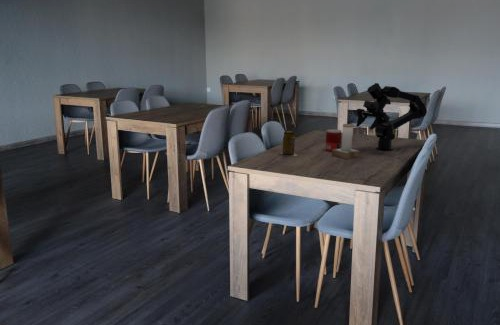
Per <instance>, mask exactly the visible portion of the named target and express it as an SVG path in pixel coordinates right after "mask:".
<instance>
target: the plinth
mask: <svg viewBox="0 0 500 325" xmlns="http://www.w3.org/2000/svg"><path fill="white" fill-rule="evenodd" d="M331 156H332V157H335V158H340V159H342V160H343V159H344V160H350V159H351V160H352V159H356V158H360V157H361V151H360V150H357V149H353V148H351V151H343V150H341V148H340V149H334V150H332V152H331Z"/></svg>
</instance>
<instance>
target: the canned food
mask: <svg viewBox="0 0 500 325" xmlns="http://www.w3.org/2000/svg"><path fill="white" fill-rule="evenodd" d="M325 136H326V137H325V151H327V152H331V153H332V150H334V149H341V146H342V130H340V129H332V128H331V129H326V131H325Z"/></svg>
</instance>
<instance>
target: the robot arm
mask: <svg viewBox="0 0 500 325" xmlns="http://www.w3.org/2000/svg"><path fill="white" fill-rule="evenodd" d="M366 91H367V92H368V94H369V96H370V97H371V98H372V99H373V101H371V100H364V103H363V108H366V110H365V109H363V108H357V109H356V111H355V113H356V115H357V121H356V128H358V127H360V126H361V125H362V124H363V123H364V122H365V121H366V119H367V118H368V117H370V118H374V120H373V122H372V124H371V126H370V127H369V129H370V130H373V129H375V130H374V131H375V134H376V138H378V142H377V147H376V149H377V150H380V151H393V150H394V149H393V148H392V140H395V137H396V134H394V132H395V130H396V129H398V128H401V127H402V126H403V125H405V124H408V122H409V123H410V122H412V121H413V120H416V119H417V120H418V119H421V118H425V117H426V115H427V113H428V111H427V107H426V104H425V102H423V101H422V100H421V98H420V96H419V95H417V94H412V93H409V92H405V91H402V90H400V89H399V88H398V87H396V86H392V85H391V86H389V85H385V86H383V87H381V85H380V84H379V83H378V82H375V83H374V84H371V85H370V86H368V87H367V90H366ZM390 98H391V99H393V98H395V99H401V100H404V101H408V102H409V105H408V106H409V109H408V111H407V112H405V113H404V114H402V115H401V116H399V117H397V118H395V119H393V120H392V121H390V118H389V116H388V114H387V112H385V111H384V108H385V107H386V106H387V105H391V104H392V103H391V99H390Z"/></svg>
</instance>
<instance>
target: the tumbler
mask: <svg viewBox="0 0 500 325" xmlns="http://www.w3.org/2000/svg"><path fill="white" fill-rule="evenodd" d="M353 132H354V124H349V123H343V124H342V133H341V148H340V149H341V150H343V151H351V149H352V145H353V144H352V142H353Z"/></svg>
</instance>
